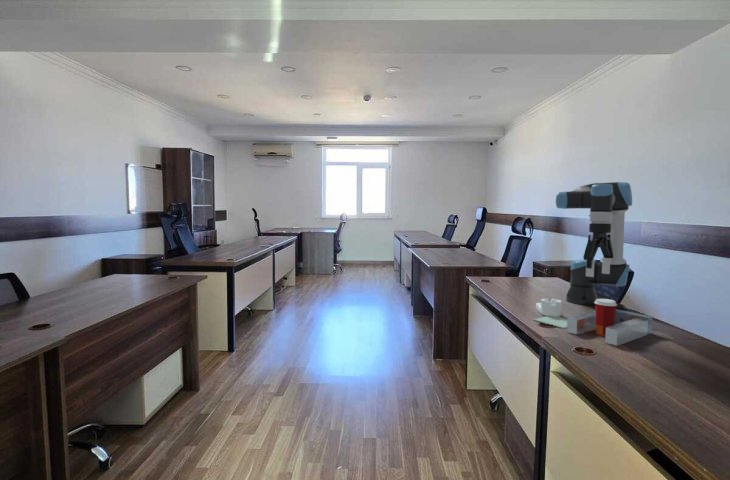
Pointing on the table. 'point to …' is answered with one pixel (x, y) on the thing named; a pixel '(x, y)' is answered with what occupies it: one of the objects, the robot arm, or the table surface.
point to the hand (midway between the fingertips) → (597, 275)
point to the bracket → (549, 307)
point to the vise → (614, 326)
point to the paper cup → (604, 315)
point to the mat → (553, 321)
